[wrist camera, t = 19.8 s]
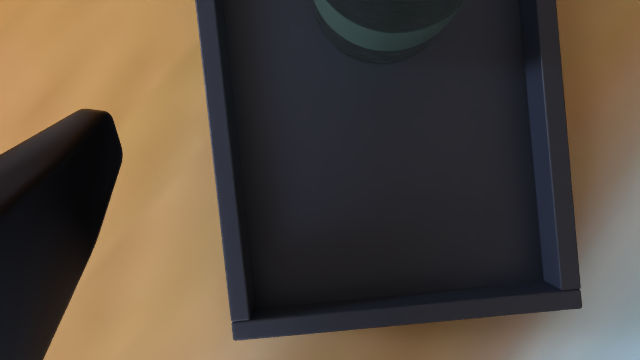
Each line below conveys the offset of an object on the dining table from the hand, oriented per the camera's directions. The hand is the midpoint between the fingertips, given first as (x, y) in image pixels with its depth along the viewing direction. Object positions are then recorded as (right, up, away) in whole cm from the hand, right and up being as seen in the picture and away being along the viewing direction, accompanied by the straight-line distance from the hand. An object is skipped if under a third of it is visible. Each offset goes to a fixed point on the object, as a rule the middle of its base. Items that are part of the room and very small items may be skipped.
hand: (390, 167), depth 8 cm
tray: (+1, +3, +11) cm, 12 cm away
